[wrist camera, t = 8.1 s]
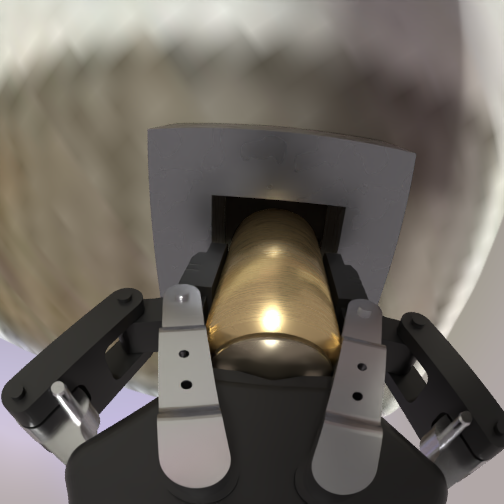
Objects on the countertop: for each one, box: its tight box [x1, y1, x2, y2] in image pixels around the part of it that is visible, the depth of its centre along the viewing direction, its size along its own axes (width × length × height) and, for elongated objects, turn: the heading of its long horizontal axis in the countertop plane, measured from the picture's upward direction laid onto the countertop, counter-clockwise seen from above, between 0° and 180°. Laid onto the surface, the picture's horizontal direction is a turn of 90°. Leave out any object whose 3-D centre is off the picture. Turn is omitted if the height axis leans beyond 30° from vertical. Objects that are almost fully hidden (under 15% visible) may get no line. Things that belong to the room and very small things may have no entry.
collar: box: [148, 123, 416, 304], centre depth 16 cm, size 12×12×4 cm
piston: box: [205, 208, 341, 380], centre depth 11 cm, size 4×4×8 cm
